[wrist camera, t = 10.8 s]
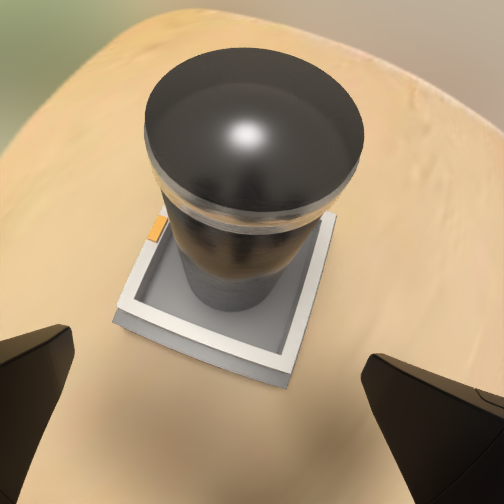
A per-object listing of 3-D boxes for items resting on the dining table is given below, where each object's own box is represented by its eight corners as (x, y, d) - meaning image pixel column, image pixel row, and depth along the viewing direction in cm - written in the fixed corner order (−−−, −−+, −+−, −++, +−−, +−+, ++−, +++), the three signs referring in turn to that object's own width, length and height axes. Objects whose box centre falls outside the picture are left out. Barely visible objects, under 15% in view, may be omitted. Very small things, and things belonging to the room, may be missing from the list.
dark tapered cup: (297, 268, 20) (401, 126, 8) (231, 334, 18) (262, 262, 6) (232, 207, 21) (254, 29, 9) (164, 264, 19) (100, 106, 7)
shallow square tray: (325, 230, 24) (346, 203, 20) (278, 386, 19) (293, 391, 15) (191, 182, 24) (187, 147, 20) (123, 327, 20) (102, 317, 16)
